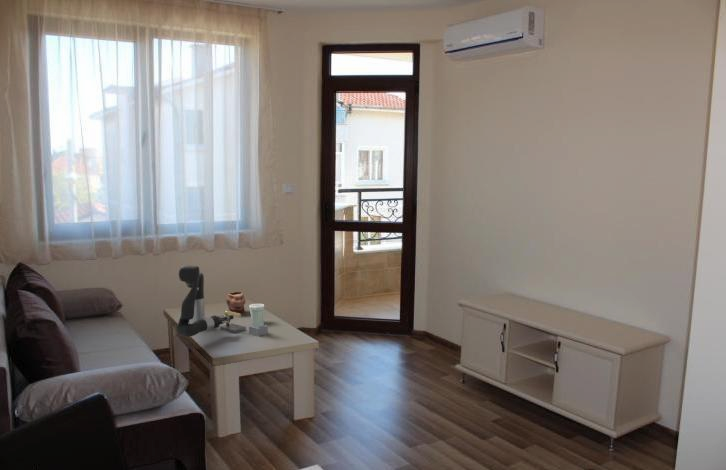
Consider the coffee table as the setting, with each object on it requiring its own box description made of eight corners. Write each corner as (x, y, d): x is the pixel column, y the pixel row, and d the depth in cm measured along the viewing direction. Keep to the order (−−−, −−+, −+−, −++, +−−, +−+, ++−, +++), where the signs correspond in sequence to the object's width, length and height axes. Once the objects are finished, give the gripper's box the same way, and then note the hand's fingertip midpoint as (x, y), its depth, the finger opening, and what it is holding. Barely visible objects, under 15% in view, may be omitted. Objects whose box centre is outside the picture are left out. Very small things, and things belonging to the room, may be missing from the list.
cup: (261, 324, 389) (261, 307, 388) (246, 323, 391) (246, 307, 390) (267, 320, 399) (266, 304, 398) (252, 319, 401) (252, 303, 400)
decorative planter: (221, 310, 423) (220, 291, 421) (237, 308, 430) (237, 288, 428) (233, 317, 407) (233, 296, 405) (250, 314, 414) (250, 294, 412)
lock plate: (220, 329, 379) (220, 326, 378) (231, 326, 386) (231, 323, 385) (234, 333, 371) (234, 330, 370) (245, 329, 378) (245, 326, 378)
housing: (258, 336, 365) (258, 328, 365) (248, 333, 370) (248, 326, 369) (267, 333, 372) (267, 325, 371) (258, 330, 376) (258, 323, 376)
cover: (258, 328, 367) (257, 310, 365) (252, 327, 370) (252, 309, 368) (263, 326, 371) (263, 309, 369) (258, 325, 373) (258, 307, 372)
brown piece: (224, 325, 381) (223, 311, 379) (227, 324, 383) (227, 310, 382) (238, 328, 373) (238, 314, 372) (242, 327, 375) (241, 313, 374)
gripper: (217, 318, 352) (239, 312, 366) (202, 315, 360) (225, 309, 374) (217, 331, 353) (240, 324, 367) (202, 327, 361) (225, 320, 375)
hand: (232, 316), depth 370 cm, fingers closed
